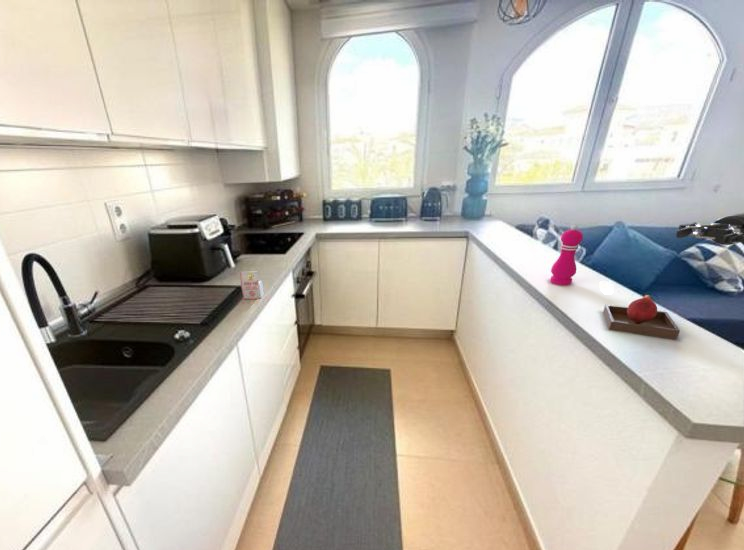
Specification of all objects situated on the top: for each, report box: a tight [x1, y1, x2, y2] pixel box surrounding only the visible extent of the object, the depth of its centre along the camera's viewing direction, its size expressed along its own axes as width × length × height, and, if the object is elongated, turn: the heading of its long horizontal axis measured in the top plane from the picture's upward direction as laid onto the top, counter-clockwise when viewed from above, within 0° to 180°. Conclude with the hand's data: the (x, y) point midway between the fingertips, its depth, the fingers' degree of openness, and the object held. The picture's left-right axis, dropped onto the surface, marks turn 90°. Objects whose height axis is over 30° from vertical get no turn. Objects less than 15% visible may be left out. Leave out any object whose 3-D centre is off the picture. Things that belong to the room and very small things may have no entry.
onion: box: [627, 294, 658, 323], centre depth 89 cm, size 6×6×8 cm
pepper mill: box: [549, 224, 584, 286], centre depth 116 cm, size 7×7×20 cm
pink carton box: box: [239, 270, 265, 300], centre depth 125 cm, size 4×7×10 cm, turn 85°
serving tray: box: [602, 304, 681, 340], centre depth 91 cm, size 13×11×2 cm
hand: (700, 236), depth 86 cm, fingers open, 8 cm apart
